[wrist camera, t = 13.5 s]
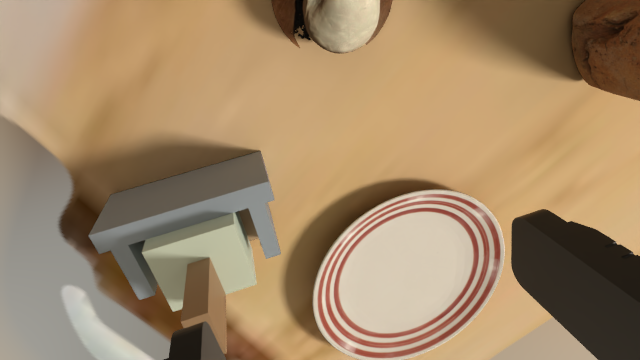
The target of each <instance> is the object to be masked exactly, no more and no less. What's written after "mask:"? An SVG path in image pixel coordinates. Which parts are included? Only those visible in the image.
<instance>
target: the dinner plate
mask: <svg viewBox="0 0 640 360" xmlns="http://www.w3.org/2000/svg"><path fill="white" fill-rule="evenodd" d="M504 255H505V246H504V239H503V235H502V231H501V228H500V225H499V223H498V221H497V220H496V218H495V216H494V215H493V214H492V213H491V211H490V210H489V209H488V208H487V207H486V206H485V205H484V204H482V203H481V202H480V201H478V200H476V199H475V198H473V197H471V196H469V195H467V194H464V193H461V192H456V191H451V190H442V189H432V190H421V191H415V192H411V193H407V194H404V195H401V196H397V197H395V198H392V199H390V200H388V201H385V202H383V203H381V204H379V205H377V206H376V207H374V208H373V209H371V210H369V211H368V212H366V213H365V214H363V215H362V216H360V217H359V218H358V219H356V220H355V221H354V222H353V223H352V224H351V225H350V226H348V227H347V228H346V229H345V230H344V231H343V232H342V234H341V235H340V236H339V237H338V238H337V239H336V241H335V242H334V243H333V245H332V246H331V247H330V249H329V250H328V252H327V254H326V255H325V257H324V259H323V261H322V263H321V265H320V268H319V270H318V273H317V276H316V279H315V283H314V289H313V312H314V317H315V320H316V323H317V326H318V328H319V330H320V332H321V333H322V335H323V336H324V338H325V339H326V340H327V341H328V342H329V343H330V344H331V345H332V346H334V347H335V348H336V349H338V350H339V351H341V352H342V353H344V354H346V355H348V356H351V357H354V358H357V359H361V360H403V359H408V358H411V357H415V356H418V355H420V354H423V353H425V352H428V351H430V350H432V349H434V348H436V347H438V346H440V345H442V344H443V343H445V342H447V341H448V340H450V339H451V338H453V337H454V336H455V335H457V334H458V333H459V332H461V331H462V330H463V329H464V328H465V327H466V326H468V325H469V324H470V323H471V322H472V321H473V319H474V318H475V317H476V316H477V315H478V314H479V313H480V311H481V310H482V309H483V308H484V306H485V305H486V303H487V302H488V300H489V299H490V297H491V296H492V294H493V292H494V290H495V288H496V286H497V284H498V281H499V279H500V276H501V272H502V269H503V264H504Z"/></svg>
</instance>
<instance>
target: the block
mask: <svg viewBox="0 0 640 360" xmlns="http://www.w3.org/2000/svg"><path fill="white" fill-rule="evenodd" d="M572 23H573V30H572V40H571V41H572V48H573V52H574V57H575V63H576V65H577V68H578V70H579V72H580V74H581V75H582V77H583V79H584V80H585V81H586V82H587V83H588V84H589V85H591V86H593V87H596V88H599V89H601V90H604V91H607V92H610V93H613V94H616V95H620V96H624V97H627V98H631V99H635V100H639V101H640V0H585V1H584V2H583V3H582V4H581V5H580V6H579V7H578V8H577V9H576V11H575V12H574V15H573V22H572Z"/></svg>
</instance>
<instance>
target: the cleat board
mask: <svg viewBox="0 0 640 360" xmlns="http://www.w3.org/2000/svg"><path fill="white" fill-rule="evenodd" d="M273 200H274V196H273V192H272V189H271V185H270V182H269V178H268V174H267V171H266V167H265V164H264V161H263V157H262V154H261V151H258V152H255V153H251V154H248V155H245V156H241V157H238V158H234V159H231V160H227V161H224V162H221V163H217V164H214V165H210V166H207V167H204V168H200V169H197V170H193V171H190V172H186V173H183V174H180V175H176V176H173V177H169V178H166V179H162V180H159V181H156V182H152V183H149V184H145V185H142V186H138V187H135V188H132V189H128V190H125V191H121V192H118V193H114V194H111V195H110V197H109V199H108V201H107V203H106V205H105V206H104V208H103V210H102V212H101V214H100V215H99V217H98V219H97V221H96V223H95V225H94V226H93V228H92V230H91V232H90V234H89V235H88V236H89V238H90V239H91V241H92V243H93V244H94V246H95V248H96V249H97V251H98V253H99V254H101V253H104V252H107V251H110V250H111V252H112V253H113V255H114V257H115V259H116V260H117V262H118V264H119V266H120V267H121V269H122V271H123V272H124V274H125V276H126V278H127V279H128V281H129V283H130V285H131V286H132V288H133V290H134V292H135V293H136V295H137V297H138V298H139V300H141V299H144V298H147V297H150V296H153V295H155V293H156V288H157V283H158V282H157V280H156V279H155V277H154V275H153V273H152V271H151V269H150V267H149V265H148V263H147V262H146V260H145V258H144V256H143V254H142V250H143V247H144V243H145V240H146V239H149V238H153V237H156V236H159V235H162V234H166V233H169V232H172V231H175V230H179V229H182V228H185V227H188V226H192V225H195V224H198V223H201V222H205V221H208V220H211V219H215V218H218V217H221V216H224V215H228V214H231V213H234V212H237V211H238V212H239V214H240V217H241V220H242V223H243V225H244V228H245V231H246V234H247V236H248V239H249V241H252V240H255V239H258V238H259V240H260V243H261V245H262V248H263V251H264V254H265V257H266V259H267V258H270V257H274V256H277V255H280V254H281V252H280V248H279V244H278V240H277V236H276V232H275V228H274V224H273V219H272V215H271V212H270V209H269V206H268V203H267V202H270V201H273Z"/></svg>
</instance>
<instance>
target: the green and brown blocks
mask: <svg viewBox="0 0 640 360" xmlns="http://www.w3.org/2000/svg"><path fill="white" fill-rule="evenodd" d="M142 254H143V256H144V258H145V260H146V262H147V263H148V265H149V267H150V269H151V271H152V273H153V275H154V277H155V279H156V280H157V282H158V284H159V286H160V288H161V290H162V292H163V294H164V296H165V297H166V299H167V301H168V303H169V305H170V307H171V309H172V311H173V312H174V311H177V310H180V309H182V315H181V323H182V325H183V327H184V328H187V327H190V326H193V325H195V324H198V323H201V322H204V321H206V322H207V323H208V324H209V325H210V327H211V329H212V331H213V333H214V335H215V337H216V340H217V342H218V344H219V346H220V348H221V350H222V352H223V354H225V353H227V337H226V294H229V293H232V292H235V291H238V290H241V289H244V288H247V287H250V286H253V285H256V284H257V282H256V275H255V267H254V260H253V252H252V247H251V244H250V242H249V239H248V236H247V234H246V231H245V228H244V225H243V223H242V220H241V217H240V214H239V212H238V211H237V212H234V213H231V214H228V215H224V216H221V217H218V218H215V219H211V220H208V221H205V222H201V223H198V224H195V225H192V226H188V227H185V228H182V229H179V230H175V231H172V232H169V233H166V234H162V235H159V236H156V237H153V238H149V239H146V240H145V243H144V247H143V250H142Z"/></svg>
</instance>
